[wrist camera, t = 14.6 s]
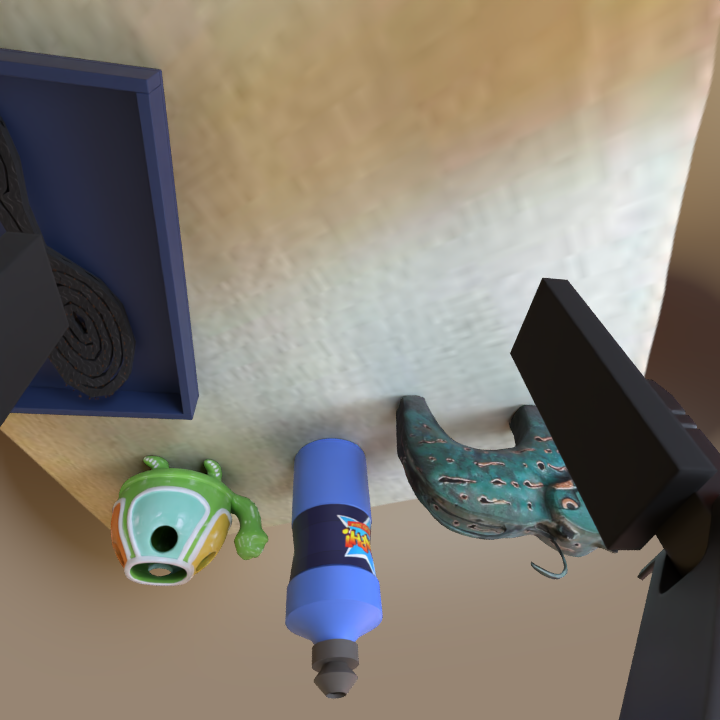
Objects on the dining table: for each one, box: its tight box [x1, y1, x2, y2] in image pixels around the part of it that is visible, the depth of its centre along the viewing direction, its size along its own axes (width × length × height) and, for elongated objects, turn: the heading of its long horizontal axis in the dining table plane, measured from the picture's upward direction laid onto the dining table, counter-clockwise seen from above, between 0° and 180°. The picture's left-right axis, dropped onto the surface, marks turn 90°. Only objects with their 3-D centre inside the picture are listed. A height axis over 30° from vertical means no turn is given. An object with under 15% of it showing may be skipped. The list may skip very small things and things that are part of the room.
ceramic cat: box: [396, 396, 618, 579], centre depth 48 cm, size 20×6×20 cm, turn 78°
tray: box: [0, 48, 199, 420], centre depth 39 cm, size 31×20×4 cm, turn 173°
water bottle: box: [285, 438, 383, 698], centre depth 50 cm, size 9×9×25 cm
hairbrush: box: [0, 116, 136, 400], centre depth 39 cm, size 8×4×25 cm
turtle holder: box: [111, 456, 268, 586], centre depth 57 cm, size 12×18×12 cm
